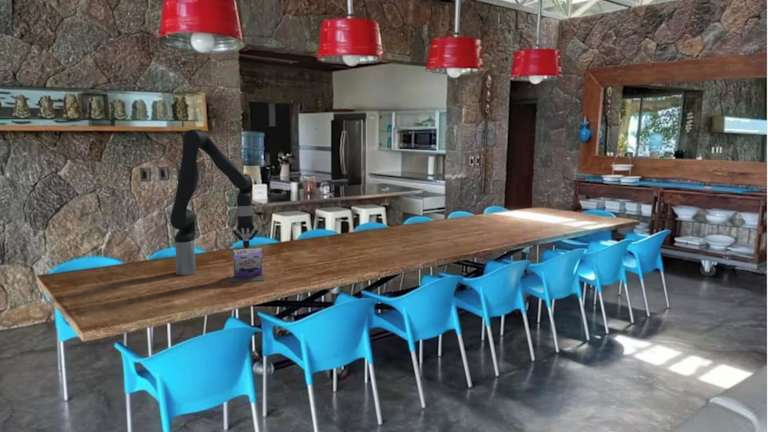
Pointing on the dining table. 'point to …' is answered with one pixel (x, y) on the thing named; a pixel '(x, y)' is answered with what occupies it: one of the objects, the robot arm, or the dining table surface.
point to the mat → (246, 278)
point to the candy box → (247, 262)
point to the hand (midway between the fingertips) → (246, 248)
